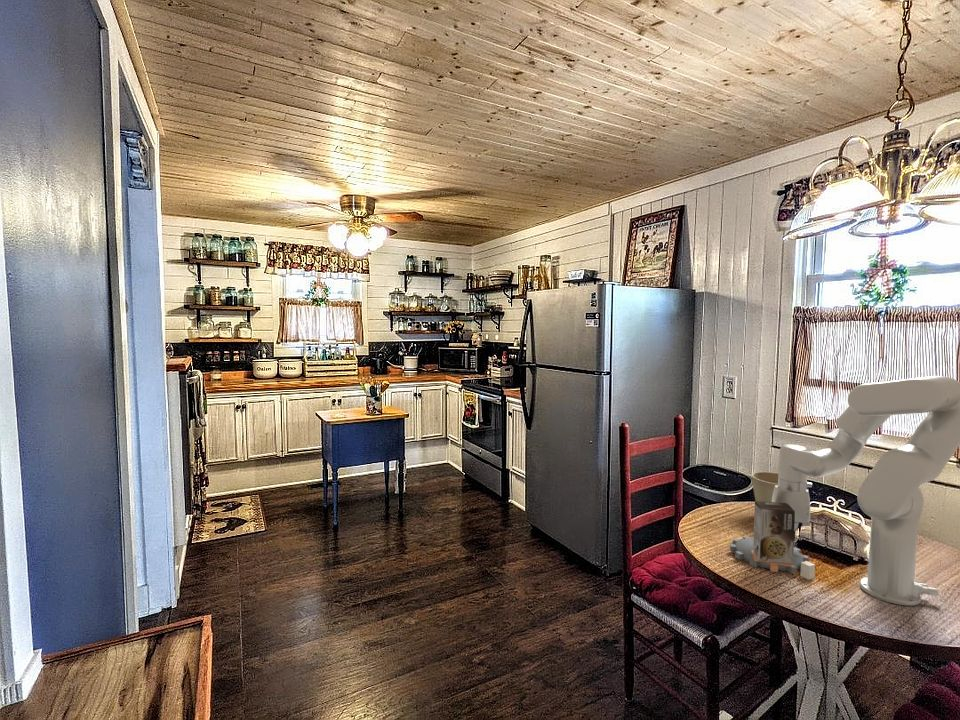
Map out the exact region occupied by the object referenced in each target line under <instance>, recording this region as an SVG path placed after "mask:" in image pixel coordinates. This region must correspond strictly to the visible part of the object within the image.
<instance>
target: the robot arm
mask: <svg viewBox="0 0 960 720" xmlns="http://www.w3.org/2000/svg"><path fill="white" fill-rule="evenodd" d="M847 403H848V407H847V408H846V409H845V410H844V411H843V413H841V414H840V416H838V418H837V419H836V421H835V424H836V426H837V429H838V432H837V434H836V436H835V437H834V438H833V439H832V440H831V442H829V443H828V445H827V446H825V447H824V448H821V449H817V450H810V451H808V449H807V448H806V446H802V445H798V444H791V443H790V444H789V443H787V444H783V445H781V446H780V448H779V456H778V457H779V460H778V473H779V475H778V485H775V487H774V491H773V495H772V502H776V503H787V504H788V505H789V506H791V507H792V509H793V510H794V511H795V524H794V541H795V540H796V532H797V531H798V529H800V528H802V527H810V526H811V522H810V520H811V501H810V500H811V498H810V492H809V489H808V488H812V487H813V483H812V482H809V481H808V476H809V477H812V478H824V477H827V476H830V475H833V474H838V473H840V472H842V471H843V470H844V469H846V468H847V467H848V466H849V465H850V464H851V463H852V462H853V461H855V459H856V458H857V457H858V456H859V455H860V454H861V452H862V451H863V449H864V447H865V446H866V444H867V442H868V440H869V438H871V436H872V435H873V434H874V433H875V432H876V431H878V429H879V428H880V427H881V426H882V425H883V424H884V423H885V422H886V421H887V420H888V419H889V418H890V417H891V416H894V415H895V416H897V415H910V414H912V415H913V414H923V413H924V414H925V413H927V416H926V417H925V418H923V420H922V421H921V422H920V423H919V424H918V426H917V428H916V429H915V431H914V432H913V434H912V435H911V436H910V437H909V439H908V441H907V442H906V443H905V444H904V445H902V446H899V447H896V448H895V447H894V448H892V449H890V450H888V451H886V452H885V453H883V454H882V455H881V456H880V457H879V459H878V460H877V461H876V463H875V464H874V466H873V467H872V468H871V470H870V472H869V473H868V475H867V476H866V478H865V479H864V481H863V482H862V484H861V486H860V487H859V490H858V492H857V497H856V499H857V504H858V506H859V509H861V511H862V512H863V513H864V514H865V515H867V516H868V517H870V518H871V525H870V535H869V536H870V537H869V551H868V568H867V577H862V578H861V579H860V582H859V585H860V588H861V589H862V590H863V591H864V592H866V593H867V594H869V595H871V597H872V596H873V597H874V598H876V599H878V600H881V601H884V602H887V603H891V604H894V605H895V604H896V605H900V606H909V607H910V606H918V605H920V604H921V603H922V595H924V594H925V595H928V596H931V597H932V596H934V597H938V596H939V591H938V589H937V588H936V587H931V586H930V587H929V586H928V585H927V583H924V582H923V583H922V582H917V581H916V580H915V578H916V577H915V576H916V564H917V562H916V561H917V550H918V549H917V548H918V547H917V546H918V540H919V539H918V538H919V527H920V522H921V518H922V513H923V509H924V503H925V502H924V494H923V492H922V490H921V487H920V486H921V485H924V484H926V483H929V482H932V481H933V480H935V479H937V478H938V477H939V476H940V475H941V473H942V471H944V469H945V467H946V465H947V464H948V462H949V461H950V460H951V459H952V457H953V455H954V454H955V453H956V452H957V450H958V448H959V447H960V381H958V380H957V379H955V378H952V377H949V376H944V375H943V376H942V375H931V376H924V377H915V378H913V377H912V378H907V379H900V380H891V381H884V382H882V381H881V382H870V383H868V382H867V383H862V384H859V385H857V386H855V387H853V388H852V389H851V390H850V392H849V393H848V396H847Z"/></svg>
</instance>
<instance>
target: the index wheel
mask: <svg viewBox="0 0 960 720" xmlns="http://www.w3.org/2000/svg"><path fill="white" fill-rule="evenodd" d="M753 543H754V537H750V536H749V535H746V536H742V539H738V538H733V539H732V543H729V545H730V546H729V549H730V552H732V553H733V552H734V553H735V554H734V555H735V558H736V559H738V560H744V561H746V562H749V565H750V566H752V567H755V568H757V567H761V568H766V569H769V570H770V572H773V573H774V572H775V573H778V572H779V571H783V572H784V571H785V572H786V571H787V572H789V573H790V574H796V573H798V570H801V562H804V561H808V562H810V561H809V560H810V558H809V556H808V555H805V554H802V550H801V549H800V548H798V547H794V553H793V564H786V563H775V562H764V561H759V560H758V558H757V557H756V555H755V554H754V552H753Z"/></svg>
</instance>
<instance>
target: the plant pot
mask: <svg viewBox="0 0 960 720" xmlns="http://www.w3.org/2000/svg"><path fill="white" fill-rule="evenodd" d="M778 475H779V472H774V471H773V472H772V471H757V472H753V473H751V479H752V487H753V489H752V490H753V493H754V499H755V501H761V502H772V495H773V491H774V487H775V485H778Z"/></svg>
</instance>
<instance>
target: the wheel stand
mask: <svg viewBox="0 0 960 720" xmlns="http://www.w3.org/2000/svg"><path fill="white" fill-rule="evenodd" d="M815 572H816V564H814V563H812V562H810V561H809V562H808V561H804V562H801V569H800V573H799V574H800V577H802V578H804V579H806V580H808V581H809V580H812V579H815Z"/></svg>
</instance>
